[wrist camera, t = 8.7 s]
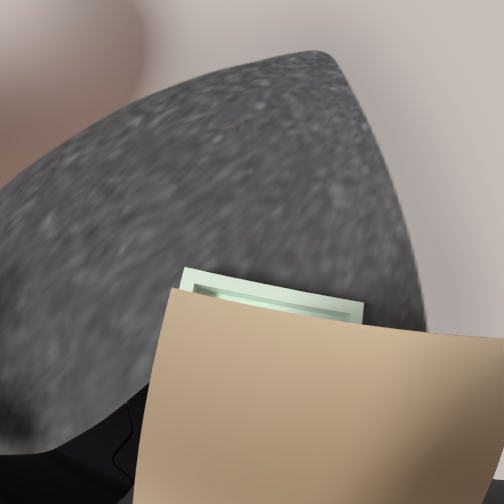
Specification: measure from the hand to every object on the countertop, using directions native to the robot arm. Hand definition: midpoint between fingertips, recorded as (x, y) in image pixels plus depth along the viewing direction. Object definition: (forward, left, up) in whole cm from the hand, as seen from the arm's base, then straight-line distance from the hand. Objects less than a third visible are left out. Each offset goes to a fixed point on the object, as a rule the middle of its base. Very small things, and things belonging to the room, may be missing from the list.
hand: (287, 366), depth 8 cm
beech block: (-1, 0, -7) cm, 7 cm away
